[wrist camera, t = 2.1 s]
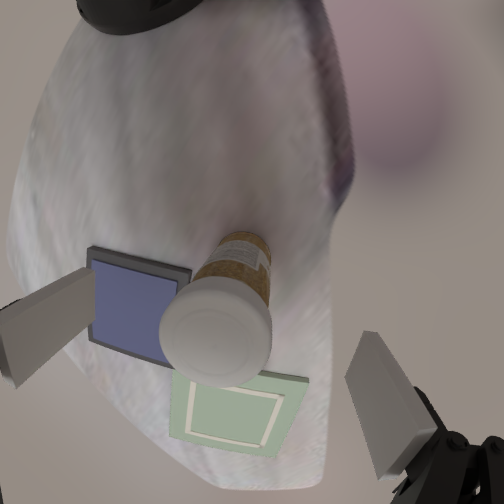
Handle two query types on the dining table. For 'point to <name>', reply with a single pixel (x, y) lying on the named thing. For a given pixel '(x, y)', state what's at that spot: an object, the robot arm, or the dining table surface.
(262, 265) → the sprinkles bottle
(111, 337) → the ink pad
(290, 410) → the board
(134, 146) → the dining table surface
